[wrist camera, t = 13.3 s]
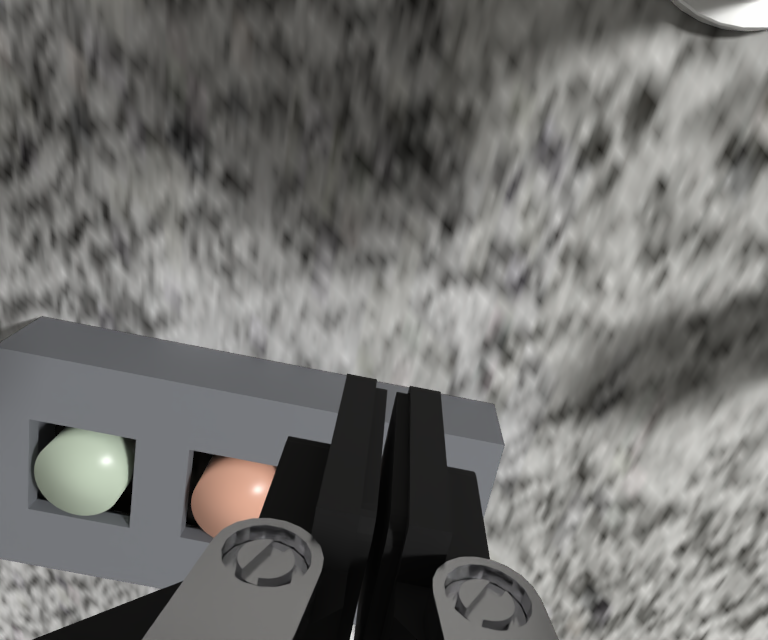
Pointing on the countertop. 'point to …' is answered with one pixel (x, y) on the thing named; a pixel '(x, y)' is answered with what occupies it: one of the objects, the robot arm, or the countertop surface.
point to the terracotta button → (230, 492)
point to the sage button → (85, 470)
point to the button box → (167, 438)
